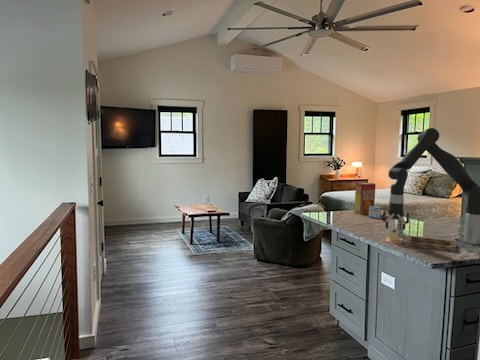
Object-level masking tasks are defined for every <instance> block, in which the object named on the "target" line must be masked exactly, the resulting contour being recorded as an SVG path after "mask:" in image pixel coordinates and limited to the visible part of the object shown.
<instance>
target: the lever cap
mask: <svg viewBox="0 0 480 360" xmlns="http://www.w3.org/2000/svg"><path fill="white" fill-rule="evenodd" d="M399 234H400V230H399V229H397V228H392V229H391V230H390V232H389V237H390V241H394V242H397V241H398V238H399Z"/></svg>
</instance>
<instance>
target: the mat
mask: <svg viewBox="0 0 480 360" xmlns="http://www.w3.org/2000/svg"><path fill="white" fill-rule="evenodd" d="M403 242H404V238H399V237H398V241H397V242H394V241H390V236H386V238H385V240H384V243H387V244H390V243H391V244H397V245H402V244H403Z"/></svg>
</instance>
